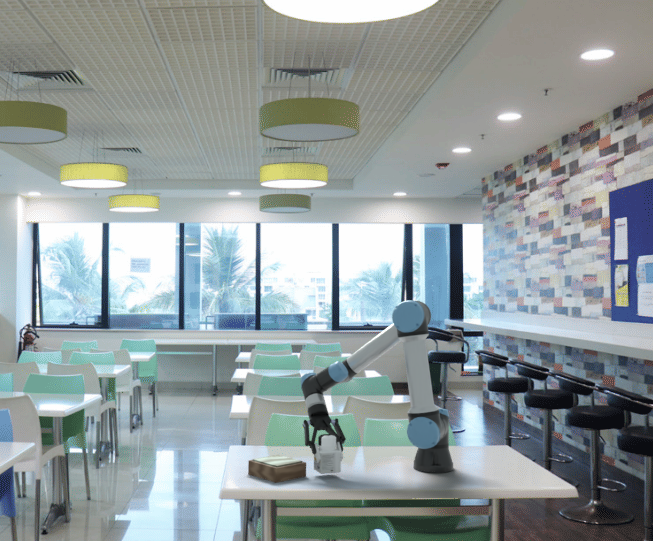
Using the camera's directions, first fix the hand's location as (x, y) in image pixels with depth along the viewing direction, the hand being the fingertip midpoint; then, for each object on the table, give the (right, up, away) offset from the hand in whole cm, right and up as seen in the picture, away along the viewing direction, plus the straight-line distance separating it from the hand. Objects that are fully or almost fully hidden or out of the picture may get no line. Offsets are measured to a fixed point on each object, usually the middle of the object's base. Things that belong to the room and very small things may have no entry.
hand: (330, 460), depth 246 cm
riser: (-19, -7, +3) cm, 21 cm away
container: (-1, -5, +3) cm, 6 cm away
